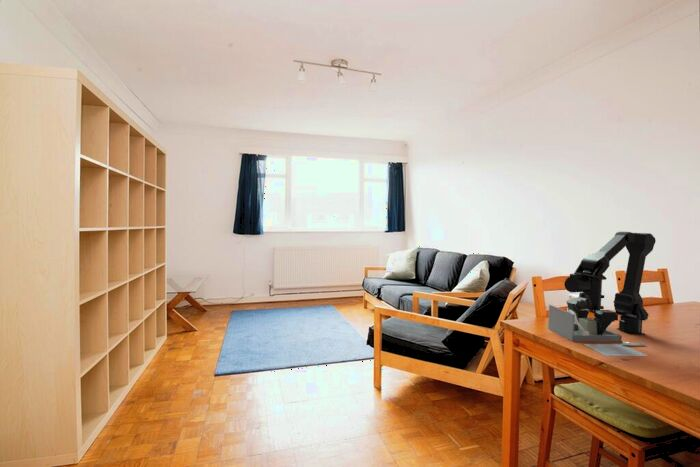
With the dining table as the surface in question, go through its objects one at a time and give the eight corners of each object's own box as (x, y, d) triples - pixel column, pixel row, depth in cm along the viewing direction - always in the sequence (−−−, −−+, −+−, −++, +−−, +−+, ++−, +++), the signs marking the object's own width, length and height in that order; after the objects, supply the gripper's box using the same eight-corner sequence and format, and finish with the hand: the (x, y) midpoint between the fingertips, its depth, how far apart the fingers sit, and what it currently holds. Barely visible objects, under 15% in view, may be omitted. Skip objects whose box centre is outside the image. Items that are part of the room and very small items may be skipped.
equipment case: (592, 329, 136) (593, 305, 136) (621, 342, 122) (622, 315, 121) (548, 329, 136) (549, 304, 135) (572, 342, 121) (573, 314, 121)
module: (593, 333, 130) (594, 317, 130) (602, 337, 126) (603, 320, 125) (578, 333, 130) (578, 317, 130) (586, 337, 126) (587, 320, 125)
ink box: (566, 319, 150) (567, 293, 149) (578, 320, 149) (580, 294, 148) (575, 325, 141) (576, 297, 141) (588, 326, 140) (589, 298, 140)
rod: (643, 346, 119) (643, 342, 119) (646, 347, 118) (646, 344, 117) (620, 344, 119) (621, 341, 118) (623, 345, 117) (624, 342, 117)
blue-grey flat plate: (622, 345, 119) (622, 344, 119) (648, 357, 109) (648, 355, 109) (583, 345, 119) (583, 344, 119) (605, 356, 109) (605, 355, 109)
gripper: (555, 286, 136) (553, 324, 137) (589, 296, 118) (587, 340, 118) (582, 286, 136) (580, 324, 137) (620, 297, 118) (618, 341, 119)
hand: (590, 332), depth 128 cm, fingers open, 9 cm apart
